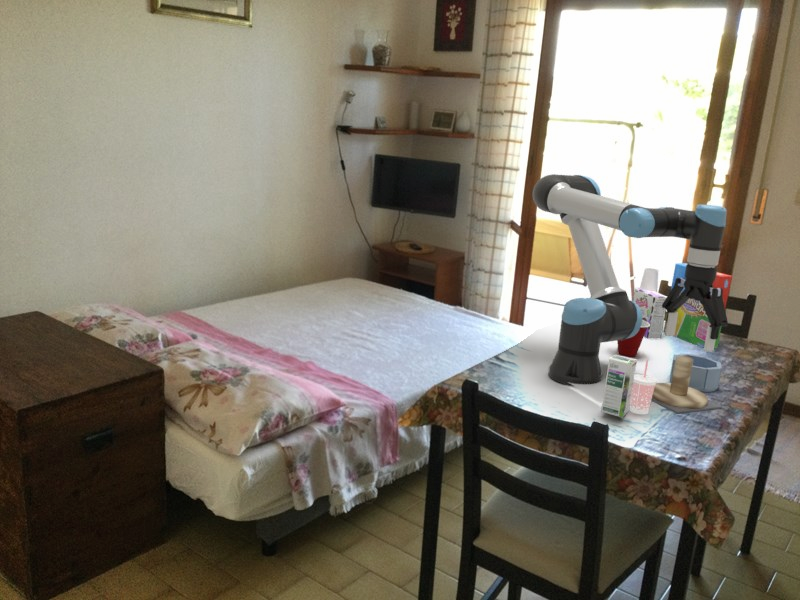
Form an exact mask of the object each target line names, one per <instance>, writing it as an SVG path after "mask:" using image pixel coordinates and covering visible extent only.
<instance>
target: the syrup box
mask: <svg viewBox="0 0 800 600" xmlns="http://www.w3.org/2000/svg"><path fill="white" fill-rule="evenodd" d="M637 363H638V358H637V359H636V358H633V357H625V356H621V355H619V354H614V355H612V356H611V357H610V358H609V359H608V363H607V370H606V376H605V377H606V378H605V384H604V390H603V397H602V404H601V409H600V412H601V413H603V414H604V413H605V414H608V415H611V416H616V417H619V418H621V419H623V418H624V417H625V415H627V413H629V411H630V399H631V393H632V387H633V381H634V375H635V374H636V367H637Z"/></svg>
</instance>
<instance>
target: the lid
mask: <svg viewBox="0 0 800 600" xmlns="http://www.w3.org/2000/svg"><path fill="white" fill-rule="evenodd" d="M692 365H693V359H692V358H690V357H687V356H676V360H675V365H674V371H673V376H672V382H656V385H655V387H654V391H653V395H652V398H653V399H655V400H657V401H659V402H661V403H664V404H667V405H670V406H675V407H679V408H687V409H699V408H703V407H705V406H706V405H707V402H708V400H709V397H708V396H707V394H705V392H700V391H698V390H696V389H694V388H691V387H688V386H689V381H690V376H691V370H692Z"/></svg>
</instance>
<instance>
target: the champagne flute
mask: <svg viewBox="0 0 800 600" xmlns="http://www.w3.org/2000/svg"><path fill="white" fill-rule="evenodd" d="M659 272H660V271H659V269H656V268H651V267H649V268H647V267H645V268H644V271H643V275H642V278H641V282H640V287H639V288H640V289H641V290H646V291H655V292H658V283H659V282H658V281H659Z"/></svg>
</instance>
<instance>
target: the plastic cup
mask: <svg viewBox="0 0 800 600" xmlns="http://www.w3.org/2000/svg"><path fill="white" fill-rule="evenodd" d="M648 327H650V324H649V323H648V322H646V321H644V320H642V325H641V327H640V329H639V331H638V333H637V334H636V335H634V336H633V337H631V338H628V339H624V340H622V341H617V353H618V354H617V355H620V356H624V357H628V358H635V357H637V355H638V352H639V349H640V347H641V344H642V342H643V339H644V338H645V337H644V334H645V332H646V330H647V329H648Z"/></svg>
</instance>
